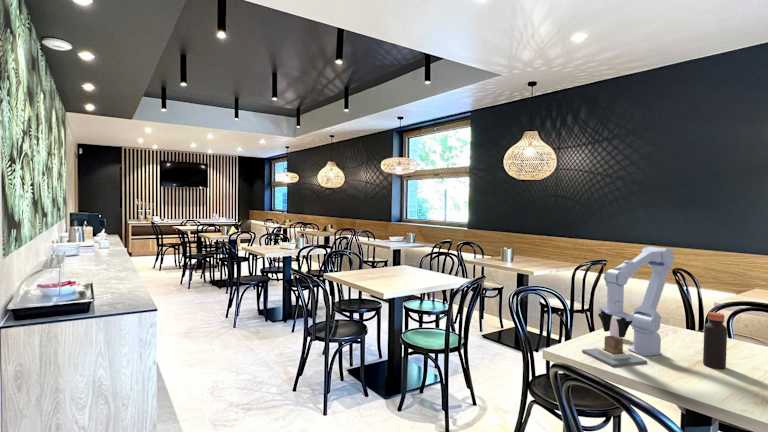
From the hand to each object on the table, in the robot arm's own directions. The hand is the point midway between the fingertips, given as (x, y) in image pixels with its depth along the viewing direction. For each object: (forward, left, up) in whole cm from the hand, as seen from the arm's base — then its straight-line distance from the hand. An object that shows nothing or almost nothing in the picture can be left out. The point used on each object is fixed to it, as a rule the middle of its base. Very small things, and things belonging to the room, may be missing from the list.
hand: (614, 334), depth 164 cm
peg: (0, 0, -8) cm, 8 cm away
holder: (0, 0, -9) cm, 9 cm away
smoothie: (-22, -22, -10) cm, 33 cm away
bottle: (-31, +16, -10) cm, 36 cm away
